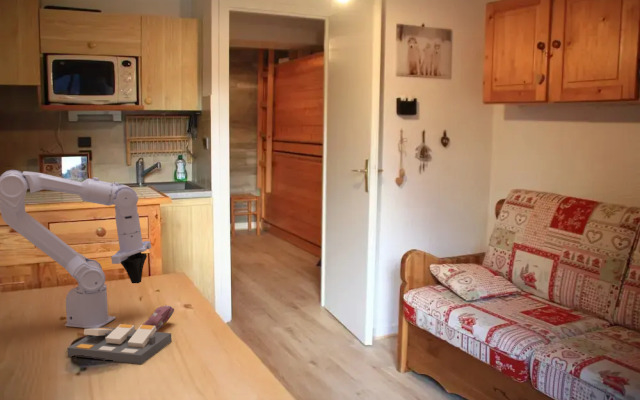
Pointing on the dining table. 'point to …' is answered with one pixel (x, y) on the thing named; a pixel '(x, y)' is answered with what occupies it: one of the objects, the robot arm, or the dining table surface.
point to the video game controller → (160, 317)
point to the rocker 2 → (120, 334)
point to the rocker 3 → (142, 336)
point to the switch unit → (119, 348)
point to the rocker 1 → (97, 331)
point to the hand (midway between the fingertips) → (136, 282)
